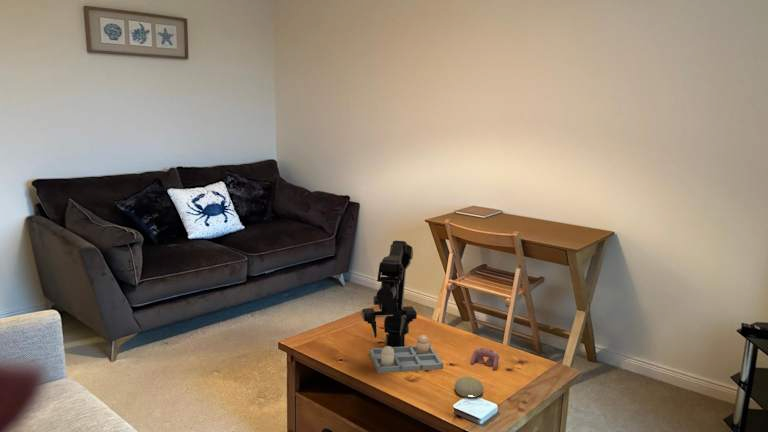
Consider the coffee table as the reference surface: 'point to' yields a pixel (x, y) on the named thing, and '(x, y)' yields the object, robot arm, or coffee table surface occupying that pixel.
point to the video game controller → (484, 352)
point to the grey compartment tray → (407, 360)
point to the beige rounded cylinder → (422, 345)
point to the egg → (387, 356)
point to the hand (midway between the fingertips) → (388, 336)
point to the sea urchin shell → (468, 386)
